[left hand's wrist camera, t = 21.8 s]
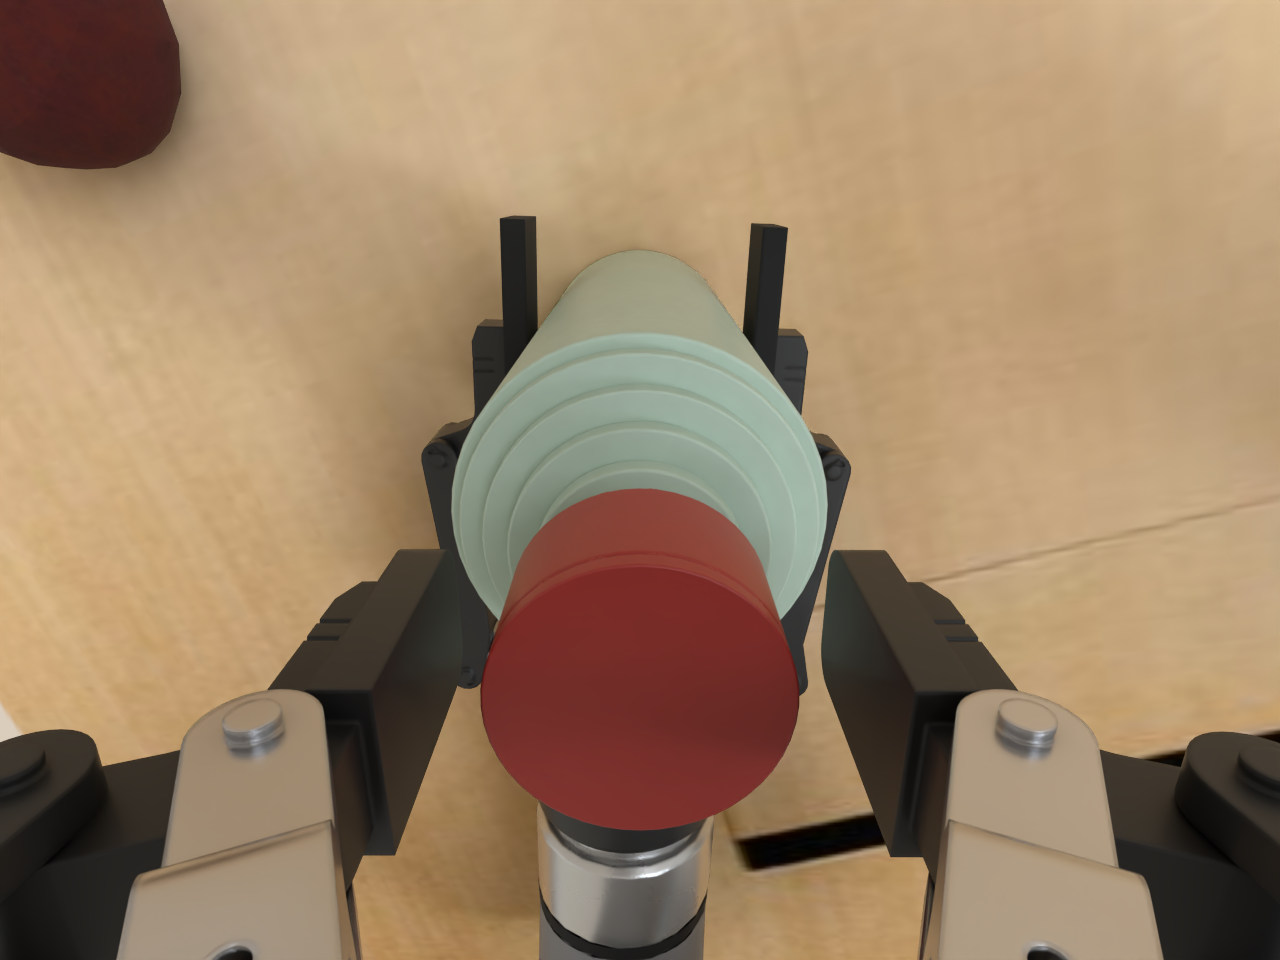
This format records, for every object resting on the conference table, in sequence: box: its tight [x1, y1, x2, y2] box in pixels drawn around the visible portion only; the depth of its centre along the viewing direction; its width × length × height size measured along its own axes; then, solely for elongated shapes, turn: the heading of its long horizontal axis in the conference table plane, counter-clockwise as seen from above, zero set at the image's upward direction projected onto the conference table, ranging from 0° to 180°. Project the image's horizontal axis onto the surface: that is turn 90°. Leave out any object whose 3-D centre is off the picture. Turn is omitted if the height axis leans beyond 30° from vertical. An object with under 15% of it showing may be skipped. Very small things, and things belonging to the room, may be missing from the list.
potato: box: [0, 0, 181, 169], centre depth 25 cm, size 7×8×7 cm
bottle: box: [451, 250, 828, 620], centre depth 21 cm, size 7×7×24 cm
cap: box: [481, 488, 799, 830], centre depth 11 cm, size 4×4×2 cm
